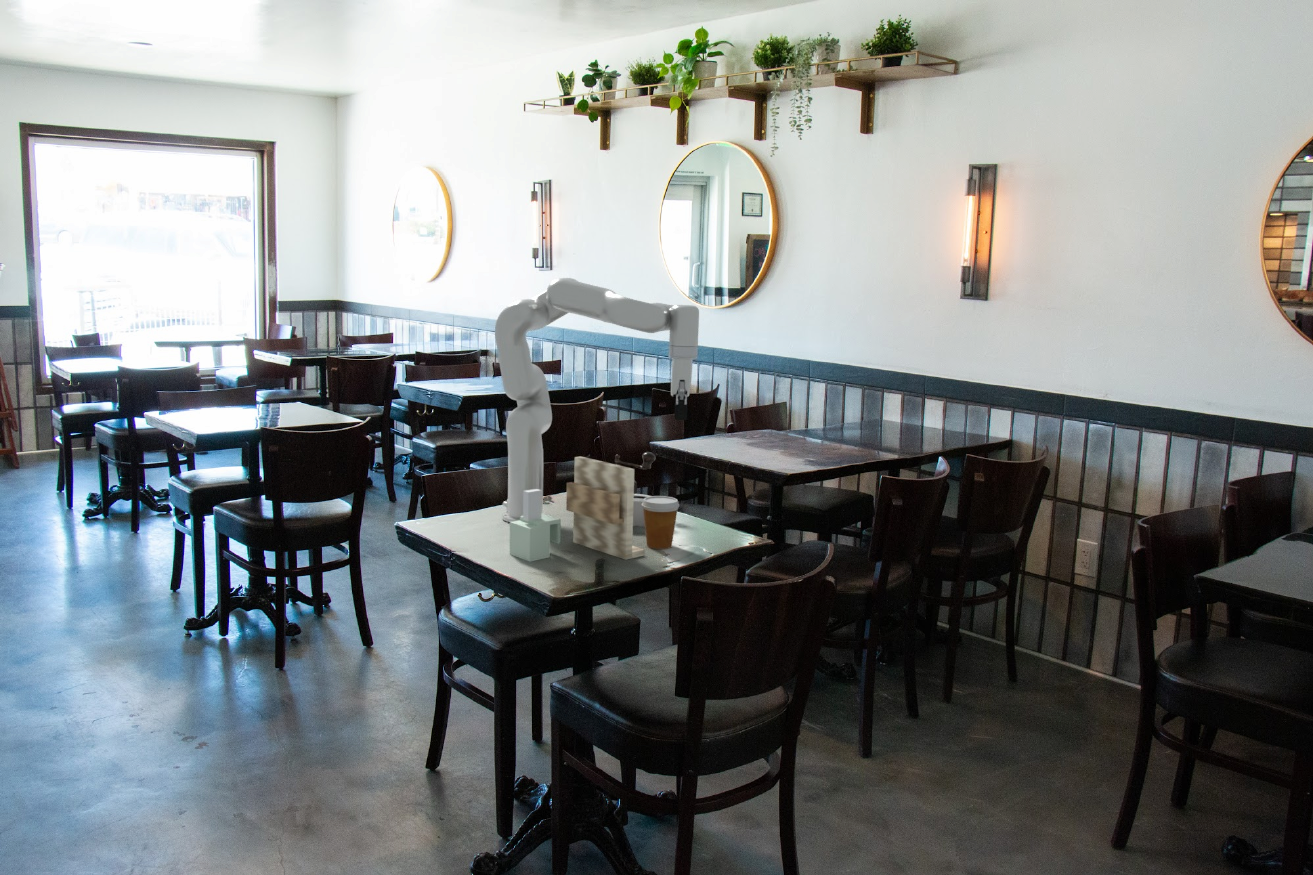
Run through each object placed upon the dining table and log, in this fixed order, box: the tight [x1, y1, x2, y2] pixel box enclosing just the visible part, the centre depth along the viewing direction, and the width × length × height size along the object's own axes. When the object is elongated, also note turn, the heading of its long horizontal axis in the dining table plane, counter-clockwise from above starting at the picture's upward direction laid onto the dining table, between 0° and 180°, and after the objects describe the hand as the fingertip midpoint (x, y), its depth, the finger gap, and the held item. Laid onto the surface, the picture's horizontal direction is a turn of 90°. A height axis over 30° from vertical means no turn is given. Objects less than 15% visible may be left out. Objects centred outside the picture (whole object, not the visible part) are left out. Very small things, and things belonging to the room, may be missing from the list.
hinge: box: [633, 493, 652, 527], centre depth 282 cm, size 17×5×10 cm, turn 97°
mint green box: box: [509, 489, 561, 562], centre depth 250 cm, size 8×9×16 cm
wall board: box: [566, 456, 645, 561], centre depth 255 cm, size 20×9×22 cm, turn 44°
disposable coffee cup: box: [642, 495, 680, 550], centre depth 261 cm, size 10×10×12 cm
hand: (680, 417), depth 274 cm, fingers open, 9 cm apart
